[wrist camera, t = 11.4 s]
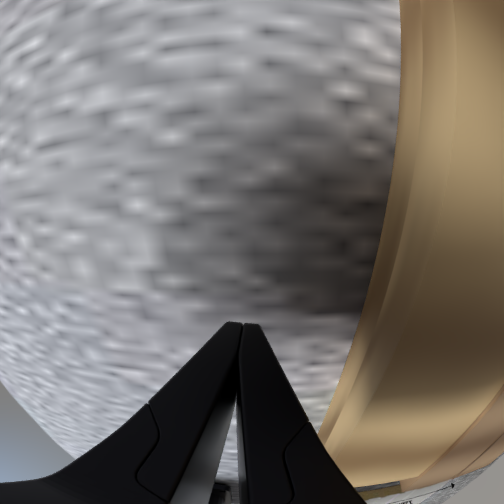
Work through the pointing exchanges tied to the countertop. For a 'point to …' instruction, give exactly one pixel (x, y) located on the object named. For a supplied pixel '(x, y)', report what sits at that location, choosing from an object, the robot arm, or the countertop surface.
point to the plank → (432, 255)
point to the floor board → (467, 448)
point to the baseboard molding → (401, 494)
